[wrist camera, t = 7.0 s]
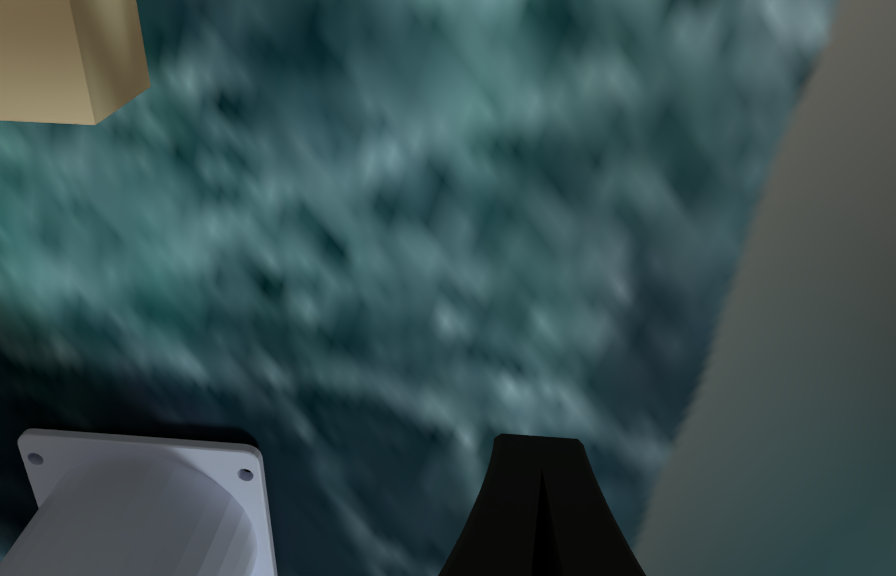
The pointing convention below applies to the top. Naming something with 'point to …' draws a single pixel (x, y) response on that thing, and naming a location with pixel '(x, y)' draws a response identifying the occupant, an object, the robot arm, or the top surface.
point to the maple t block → (69, 59)
